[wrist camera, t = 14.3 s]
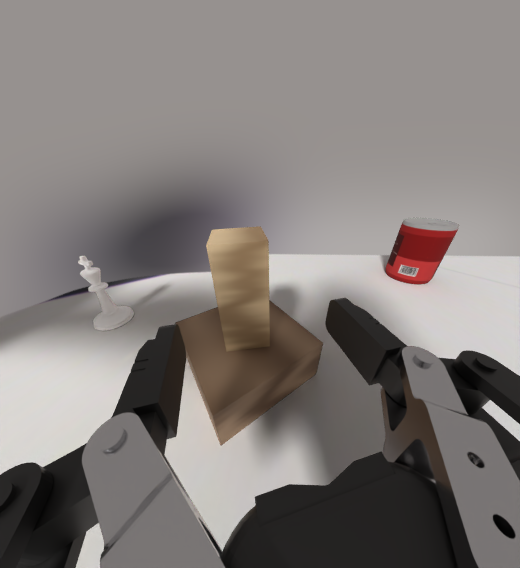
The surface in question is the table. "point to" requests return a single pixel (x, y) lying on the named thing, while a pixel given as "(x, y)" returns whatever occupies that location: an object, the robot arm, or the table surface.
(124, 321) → the chess piece
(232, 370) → the walnut block
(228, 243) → the oak block
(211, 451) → the table surface
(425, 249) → the canned food
